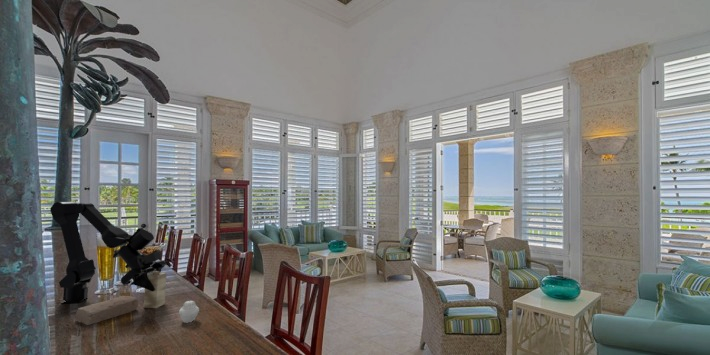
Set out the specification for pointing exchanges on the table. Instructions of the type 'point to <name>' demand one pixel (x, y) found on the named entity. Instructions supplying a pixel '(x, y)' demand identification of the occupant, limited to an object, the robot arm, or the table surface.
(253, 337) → the table surface
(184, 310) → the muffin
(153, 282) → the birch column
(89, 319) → the brick
